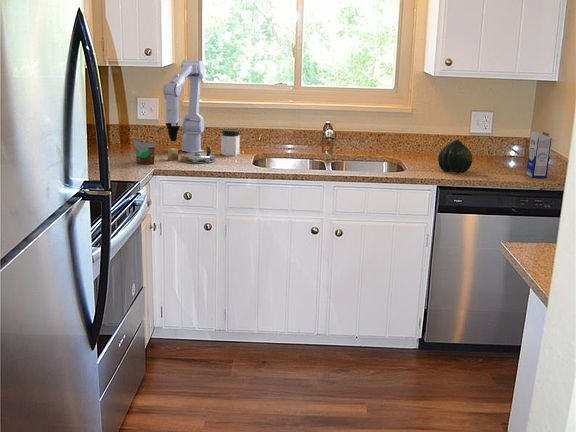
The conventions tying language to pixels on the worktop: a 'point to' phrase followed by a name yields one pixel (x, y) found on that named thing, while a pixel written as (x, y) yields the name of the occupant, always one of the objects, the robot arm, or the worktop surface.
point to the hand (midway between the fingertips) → (172, 139)
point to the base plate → (198, 162)
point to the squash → (455, 157)
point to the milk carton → (539, 155)
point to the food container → (144, 152)
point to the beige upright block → (172, 154)
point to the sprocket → (198, 156)
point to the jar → (230, 142)
